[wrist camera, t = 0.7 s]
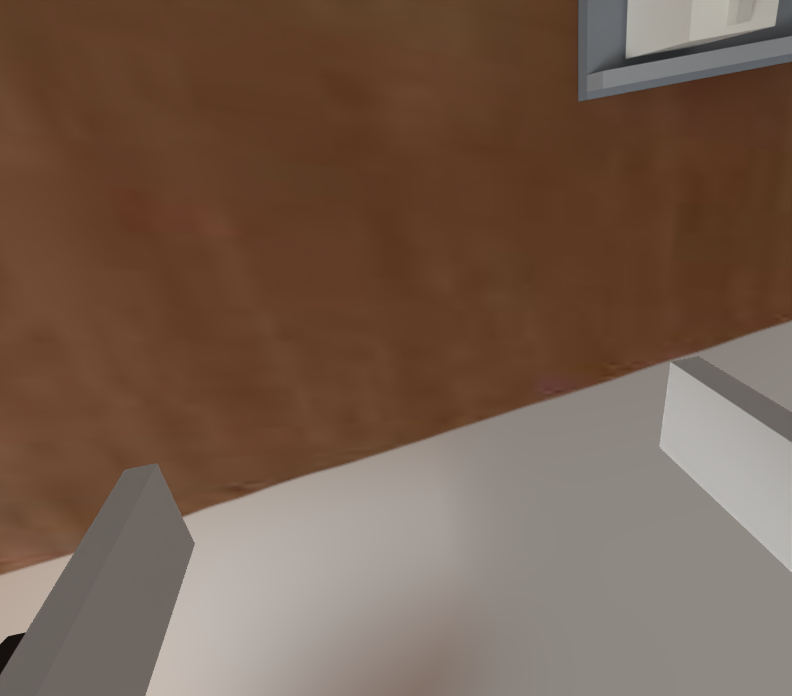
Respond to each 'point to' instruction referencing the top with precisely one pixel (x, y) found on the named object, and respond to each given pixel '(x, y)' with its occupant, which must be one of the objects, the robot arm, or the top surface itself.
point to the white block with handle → (692, 22)
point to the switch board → (614, 74)
